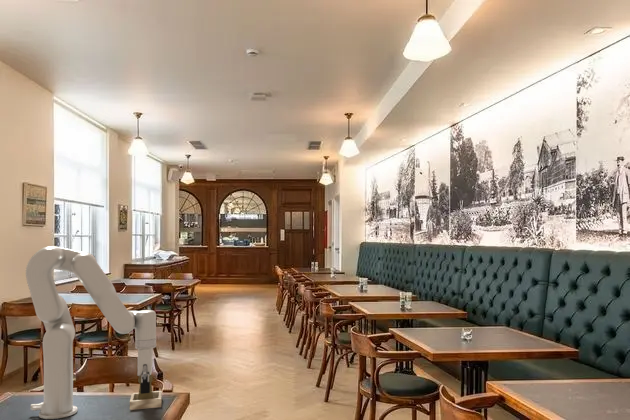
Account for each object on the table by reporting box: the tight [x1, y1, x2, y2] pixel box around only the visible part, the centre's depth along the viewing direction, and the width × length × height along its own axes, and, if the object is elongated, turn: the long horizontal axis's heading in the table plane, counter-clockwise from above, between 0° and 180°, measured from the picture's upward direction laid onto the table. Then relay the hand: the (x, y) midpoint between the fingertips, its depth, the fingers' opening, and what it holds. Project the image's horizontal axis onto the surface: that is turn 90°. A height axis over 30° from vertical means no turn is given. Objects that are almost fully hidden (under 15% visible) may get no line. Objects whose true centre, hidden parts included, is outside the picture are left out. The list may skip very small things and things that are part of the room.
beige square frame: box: [129, 390, 163, 411], centre depth 206 cm, size 11×11×3 cm
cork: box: [137, 374, 154, 400], centre depth 206 cm, size 6×6×11 cm
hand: (145, 389), depth 206 cm, fingers open, 9 cm apart
